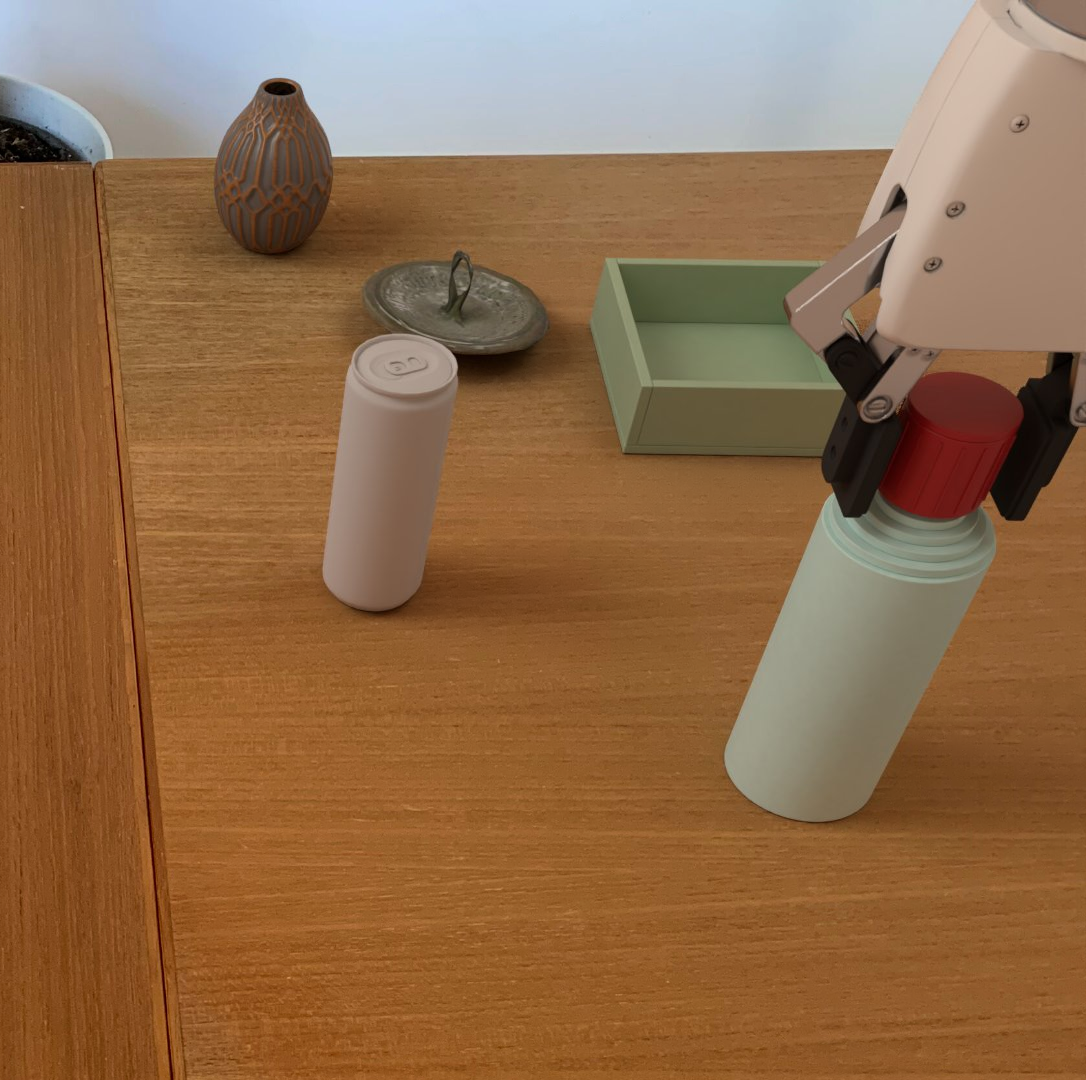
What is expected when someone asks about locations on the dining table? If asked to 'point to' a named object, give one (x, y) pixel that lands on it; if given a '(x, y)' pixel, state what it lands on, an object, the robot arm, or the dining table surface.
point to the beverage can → (388, 469)
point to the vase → (273, 170)
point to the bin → (711, 358)
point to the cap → (950, 444)
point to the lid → (456, 305)
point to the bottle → (853, 655)
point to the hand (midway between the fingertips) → (923, 492)
